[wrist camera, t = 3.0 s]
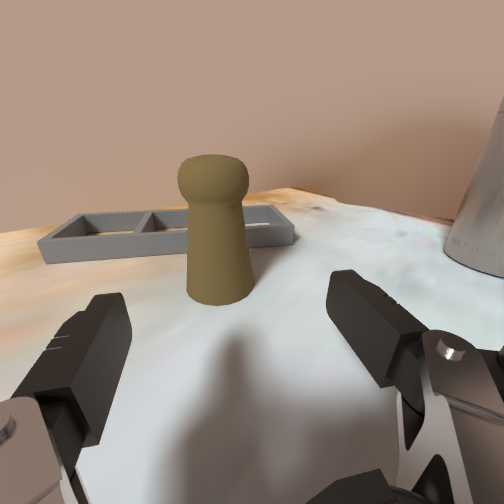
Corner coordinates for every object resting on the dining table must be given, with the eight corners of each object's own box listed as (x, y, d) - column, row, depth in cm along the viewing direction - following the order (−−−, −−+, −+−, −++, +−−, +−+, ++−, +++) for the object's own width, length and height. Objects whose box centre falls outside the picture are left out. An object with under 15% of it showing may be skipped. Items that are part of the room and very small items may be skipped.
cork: (205, 264, 25) (195, 151, 21) (260, 273, 24) (264, 153, 19) (172, 297, 20) (148, 157, 15) (240, 311, 19) (238, 161, 14)
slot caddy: (272, 220, 39) (272, 204, 37) (292, 244, 30) (294, 225, 29) (84, 231, 34) (78, 213, 33) (45, 264, 25) (36, 242, 24)
